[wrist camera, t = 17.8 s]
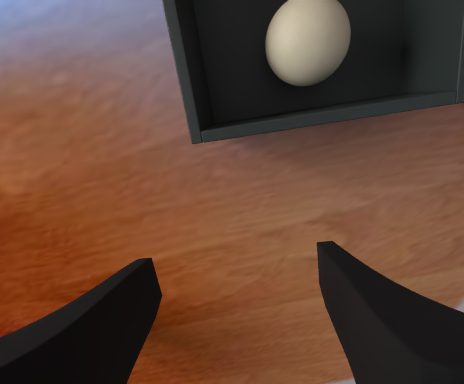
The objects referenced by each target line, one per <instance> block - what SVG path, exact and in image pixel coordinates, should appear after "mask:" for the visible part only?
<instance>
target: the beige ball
mask: <svg viewBox="0 0 464 384" xmlns="http://www.w3.org/2000/svg"><path fill="white" fill-rule="evenodd" d="M350 36H351V29H350V22H349V18H348V15H347V13H346V11H345V9H344V8H343V6H342V5H341V4H340V3H339V2H338V1H337V0H288V1H287V2H286V3H284V4H283V5H282V6H281V7H280V8H279V9H278V11H277V12H276V13H275V15H274V17H273V18H272V20H271V22H270V25H269V27H268V30H267V34H266V41H265V49H266V56H267V60H268V63H269V65H270V67H271V69H272V70H273V72H274V73H275V74H276V75H277V76H278V77H279V78H280V79H281V80H283V81H284V82H286V83H288V84H291V85H295V86H310V85H314V84H317V83H319V82H321V81H323V80H325V79H326V78H328V77H329V76H331V75H332V74H333V73H334V72H335V71H336V70H337V68H338V67H339V66H340V64H341V63H342V61H343V60H344V58H345V56H346V54H347V51H348V48H349V44H350Z"/></svg>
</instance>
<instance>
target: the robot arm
mask: <svg viewBox="0 0 464 384" xmlns="http://www.w3.org/2000/svg"><path fill="white" fill-rule="evenodd" d="M317 253H318V269H319V284H320V288H321V292H322V295H323V299H324V302H325V306H326V309H327V311H328V313H329V316H330V318H331V321H332V323H333V326H334V328H335V330H336V333H337V335H338V338H339V340H340V342H341V345H342V347H343V350H344V352H345V354H346V357H347V359H348V362H349V364H350V367H351V370H352V373H353V376H354V379H355V382H356V384H464V313H463V312H461V311H458V310H455V309H453V308H450V307H448V306H445V305H443V304H440V303H438V302H436V301H433V300H431V299H428V298H426V297H424V296H422V295H419V294H417V293H415V292H413V291H411V290H409V289H407V288H405V287H403V286H401V285H399V284H397V283H395V282H394V281H392V280H390V279H388V278H386V277H385V276H383V275H381V274H380V273H378V272H376V271H375V270H373V269H372V268H370V267H368V266H367V265H365V264H364V263H362V262H361V261H359V260H358V259H356V258H355V257H354V256H352V255H351V254H349V253H348V252H347V251H345V250H344V249H343V248H341V247H340V246H339V245H337V244H336V243H334V242H333V241H326V242H317ZM161 298H162V293H161V290H160V286H159V283H158V279H157V276H156V272H155V268H154V265H153V261H152V258H143V259H137V260H136V261H134V262H132V263H130V264H129V265H127V266H126V267H124V268H123V269H121V270H120V271H118V272H117V273H115V274H114V275H112V276H111V277H109V278H108V279H106V280H105V281H103V282H102V283H101V284H99V285H98V286H96V287H94V288H93V289H91V290H90V291H88V292H87V293H85V294H83V295H82V296H80V297H79V298H77V299H76V300H74V301H72V302H71V303H69V304H67V305H65V306H64V307H62V308H60V309H58V310H56V311H55V312H53V313H51V314H49V315H47V316H45V317H43V318H41V319H39V320H37V321H35V322H33V323H31V324H29V325H27V326H25V327H23V328H21V329H18V330H16V331H14V332H12V333H10V334H8V335H5V336H3V337H1V338H0V384H127V381H128V379H129V376H130V374H131V371H132V369H133V367H134V365H135V362H136V360H137V358H138V356H139V354H140V351H141V349H142V347H143V345H144V343H145V340H146V338H147V336H148V334H149V332H150V329H151V327H152V325H153V323H154V320H155V318H156V315H157V312H158V309H159V305H160V302H161Z"/></svg>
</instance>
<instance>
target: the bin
mask: <svg viewBox="0 0 464 384" xmlns="http://www.w3.org/2000/svg"><path fill="white" fill-rule="evenodd" d="M287 1H288V0H162V2H163V7H164V11H165V16H166V21H167V26H168V31H169V36H170V41H171V45H172V50H173V55H174V60H175V65H176V70H177V74H178V79H179V84H180V89H181V94H182V99H183V103H184V108H185V113H186V118H187V123H188V128H189V133H190V137H191V142H192V144H198V143H202V142H211V141H217V140H224V139H230V138H237V137H243V136H250V135H256V134H263V133H269V132H276V131H282V130H289V129H295V128H302V127H308V126H315V125H321V124H328V123H334V122H341V121H347V120H354V119H360V118H367V117H373V116H380V115H386V114H392V113H399V112H405V111H412V110H418V109H425V108H431V107H438V106H444V105H451V104H458V103H464V0H337V1H338V2H339V3H340V4H341V5H342V6H343V8H344V9H345V11H346V13H347V15H348V18H349V22H350V29H351V36H350V44H349V48H348V51H347V54H346V56H345V58H344V60H343V61H342V63H341V64H340V66H339V67H338V68H337V70H336V71H335V72H334V73H333V74H332V75H331V76H329V77H328V78H326V79H325V80H323V81H321V82H319V83H317V84H314V85H310V86H295V85H291V84H288V83H286V82H284V81H283V80H281V79H280V78H279V77H278V76H277V75H276V74H275V73H274V72H273V70H272V69H271V67H270V65H269V63H268V60H267V56H266V49H265V41H266V34H267V30H268V27H269V25H270V22H271V20H272V18H273V17H274V15H275V13H276V12H277V11H278V9H279V8H280V7H281V6H282V5H283V4H284V3H286V2H287Z"/></svg>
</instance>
